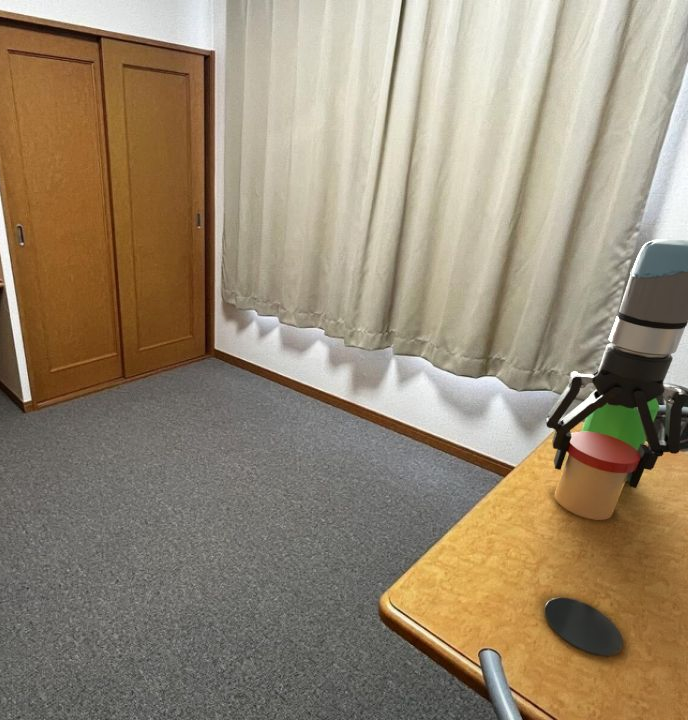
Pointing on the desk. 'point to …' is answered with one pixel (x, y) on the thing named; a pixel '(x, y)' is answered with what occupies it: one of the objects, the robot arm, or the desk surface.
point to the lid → (603, 452)
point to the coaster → (583, 627)
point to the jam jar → (588, 490)
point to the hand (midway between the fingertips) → (593, 473)
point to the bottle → (620, 423)
